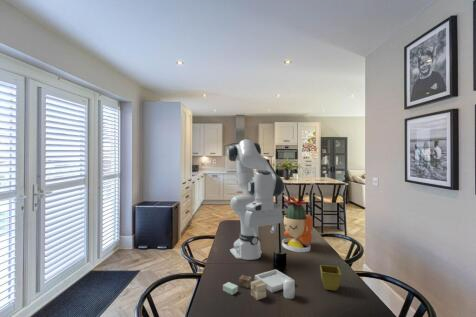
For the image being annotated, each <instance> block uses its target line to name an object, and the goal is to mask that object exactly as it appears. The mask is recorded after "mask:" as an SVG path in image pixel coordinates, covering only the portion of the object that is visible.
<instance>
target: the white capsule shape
mask: <svg viewBox="0 0 476 317" xmlns="http://www.w3.org/2000/svg"><path fill="white" fill-rule="evenodd" d="M295 283H296V282H295V279H294V278H292V277H290V278H285V279H284V280H283V289H282V290H283V294H282V295H283V297H284V298H285V299H287V300H288V299H289V300H292V299H294V298H295V296H296V295H295V293H296V292H295V289H296V287H295V285H296V284H295Z"/></svg>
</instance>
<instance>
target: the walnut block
mask: <svg viewBox="0 0 476 317" xmlns="http://www.w3.org/2000/svg"><path fill="white" fill-rule="evenodd" d="M251 282H252V276H250V275H244V274H242V275H241V276H240V277H239V278H238V287H243V288H247V289H249V288H251Z"/></svg>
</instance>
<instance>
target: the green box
mask: <svg viewBox="0 0 476 317" xmlns="http://www.w3.org/2000/svg"><path fill="white" fill-rule="evenodd" d="M222 291H223V292H225V293H227V294H229V295H230V296H231V295H232V296H233V295H234V294H236V293H237V292H239V285H237V284H235V283H232V282H231V281H230V282H229V281H227V282H226V283H224V284H223V285H222Z"/></svg>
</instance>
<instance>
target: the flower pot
mask: <svg viewBox="0 0 476 317" xmlns="http://www.w3.org/2000/svg"><path fill="white" fill-rule="evenodd" d="M319 269H320V278H321V282H322V286H323V288H324V290H327V291H328V290H329V291H334V292H335V291H338V290H339V287H340V285H341V280H342V272H341V270H340V267H339V266H334V265H325V264H324V265H323V264H320V265H319Z"/></svg>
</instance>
